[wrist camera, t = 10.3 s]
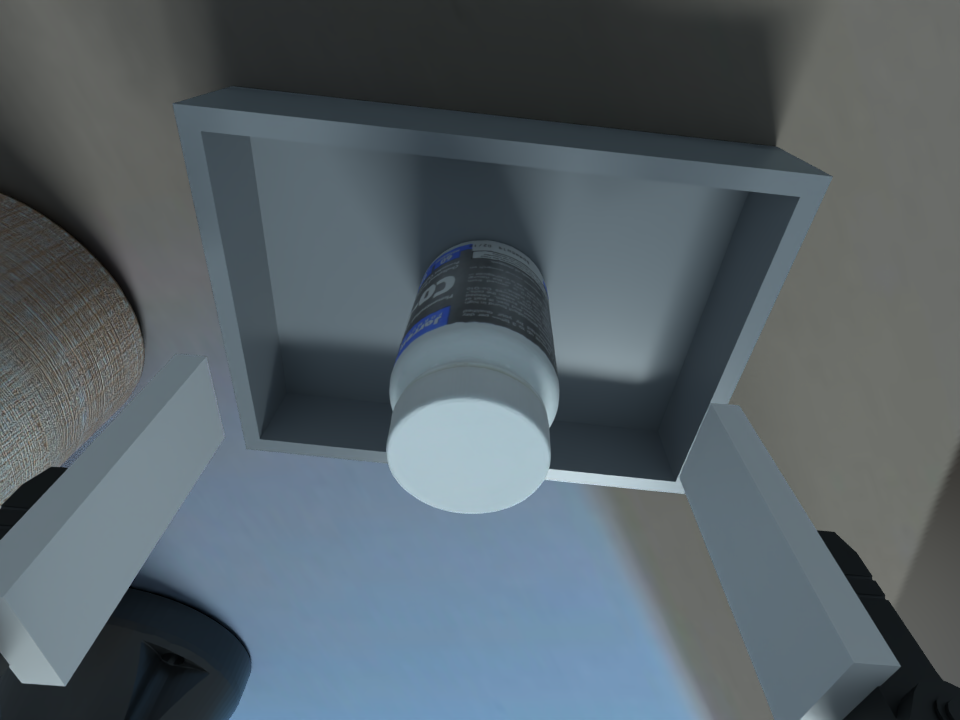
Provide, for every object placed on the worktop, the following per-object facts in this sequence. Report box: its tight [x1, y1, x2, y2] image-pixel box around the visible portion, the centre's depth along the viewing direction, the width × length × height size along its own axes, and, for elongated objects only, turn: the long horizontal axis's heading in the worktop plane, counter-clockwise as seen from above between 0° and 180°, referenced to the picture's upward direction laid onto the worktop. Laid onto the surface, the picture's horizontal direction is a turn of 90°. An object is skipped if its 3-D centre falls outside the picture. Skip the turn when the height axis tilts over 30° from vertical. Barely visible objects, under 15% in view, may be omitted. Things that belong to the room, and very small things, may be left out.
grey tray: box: [173, 86, 833, 494], centre depth 18 cm, size 17×12×4 cm
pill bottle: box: [386, 240, 560, 514], centre depth 16 cm, size 5×5×8 cm
